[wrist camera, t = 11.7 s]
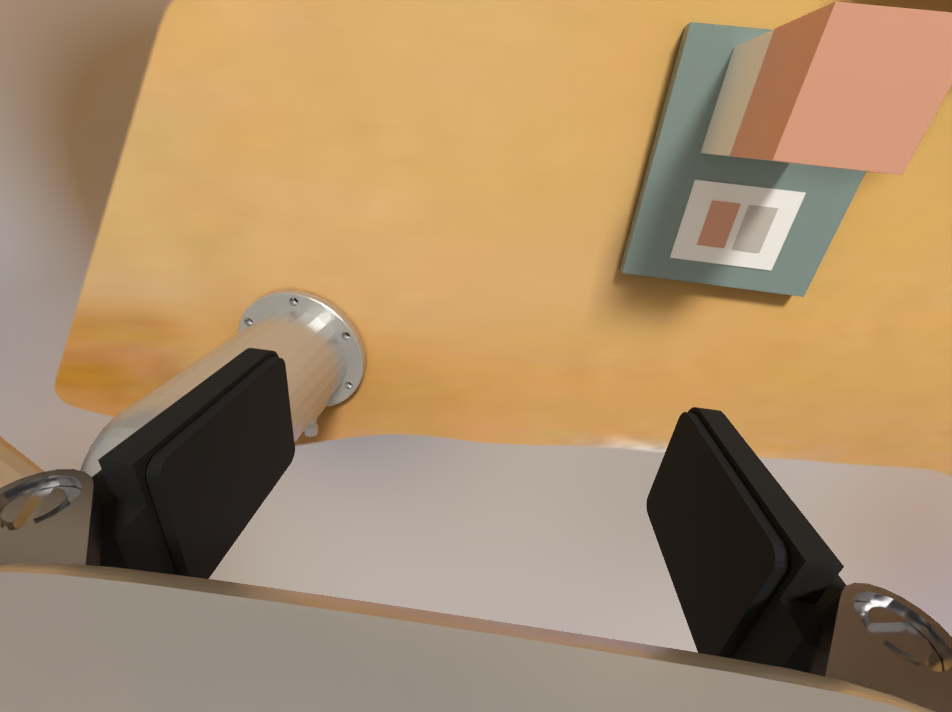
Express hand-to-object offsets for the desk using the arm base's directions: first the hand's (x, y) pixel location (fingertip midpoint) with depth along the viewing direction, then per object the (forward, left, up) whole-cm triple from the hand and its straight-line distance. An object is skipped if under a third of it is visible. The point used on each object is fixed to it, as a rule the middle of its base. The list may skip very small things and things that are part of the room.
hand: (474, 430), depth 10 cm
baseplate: (+5, -16, -27) cm, 32 cm away
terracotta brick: (+9, -15, -21) cm, 27 cm away
